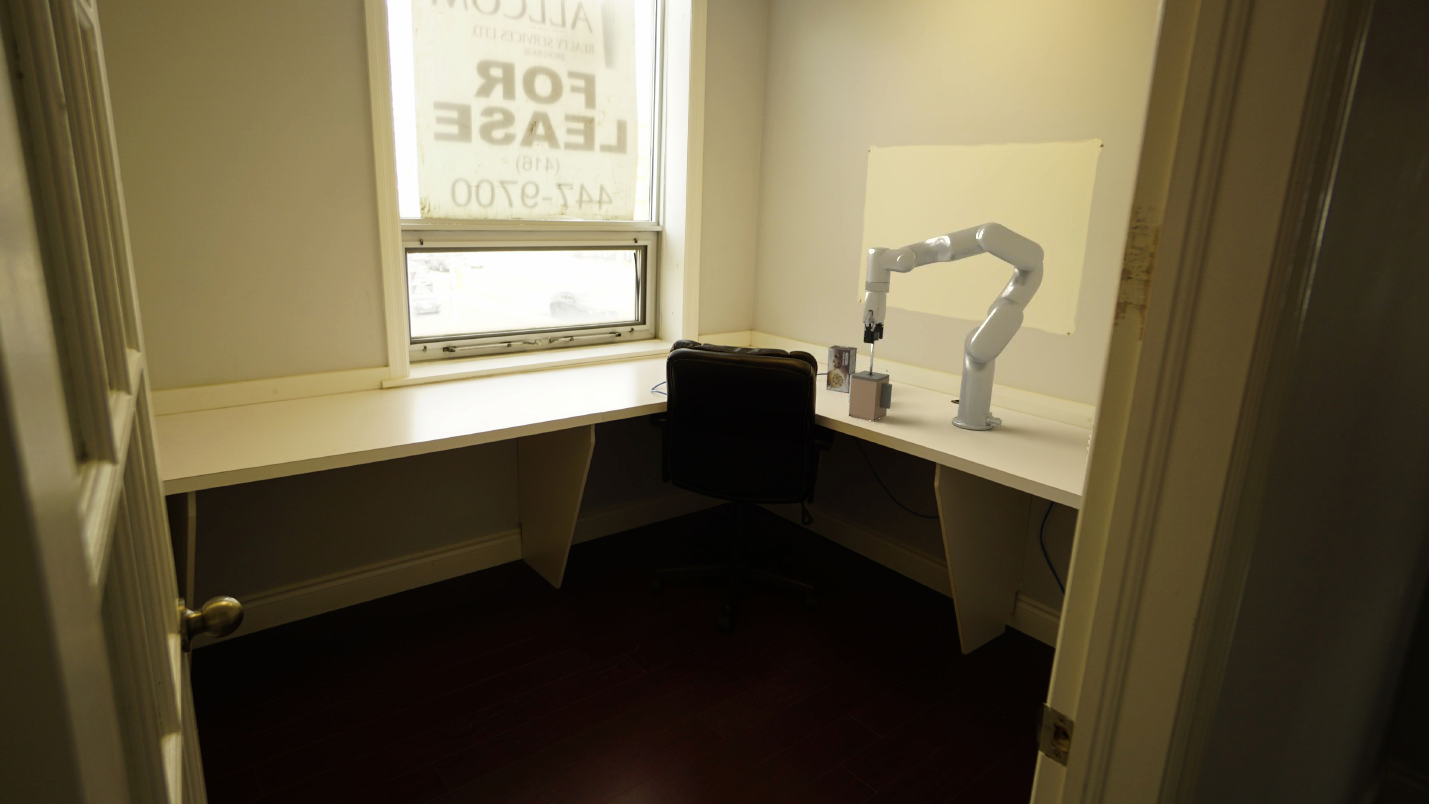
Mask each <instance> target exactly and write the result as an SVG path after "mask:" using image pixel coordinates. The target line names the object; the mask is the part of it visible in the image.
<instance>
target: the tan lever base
mask: <svg viewBox="0 0 1429 804" xmlns="http://www.w3.org/2000/svg"><path fill="white" fill-rule="evenodd" d="M869 371H870V370H863V371H860V372H859V371H858V372H855V373H856V374H853V375H852V376H851V391H850V403H849V406H848V407H849V409H848V417H849V416H851V417H850V418H854V417H855V419H859V418H861V419H860V420H865V421H868V420H871V421H870V422H873V421H874V422H876V421H879V420H880V419H883V418H885V417H887V410H890V409H891V406H892V405H891V403H892V402H891V401H892V391H893V384H892V383H890V374H886V373H882V372H876V371H872V376H870V375H869ZM882 417H883V418H882ZM879 418H880V419H879ZM875 420H876V421H875Z"/></svg>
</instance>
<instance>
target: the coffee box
mask: <svg viewBox="0 0 1429 804" xmlns="http://www.w3.org/2000/svg"><path fill="white" fill-rule="evenodd" d="M857 351H858V348H857V347H853V346H845V345H836V344H835V345H832V346H830V347H828V348H827V370H826V371H827V373H826V388H825V389H826V390H828V391H835V392H841V393H848V394H849V388H850V375H851V374H852V373H856V367H857V364H856V363H857V353H858V352H857Z"/></svg>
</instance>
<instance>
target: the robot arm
mask: <svg viewBox="0 0 1429 804" xmlns="http://www.w3.org/2000/svg"><path fill="white" fill-rule="evenodd" d="M986 253H989V254H990V255H992V256H994V257H996V258H998V259H1000V260H1001V261H1003V262H1005V263H1008V264H1010V265H1012V266H1013V273H1012V275H1011V278H1010V279H1009V280H1008V282H1007V283H1006V285H1005V286H1004V288H1003V289H1002V291H1001V292H1000V293H998V296H997V297H996V298H995V300H994V301H992V303H991V304H990V306H989V307H988V309H987V317H986V318H985V320H984V321H983V322H982V324H981V325H980V326H976V327H974V328H972V329H971V330H970V331H969V332H968V333H967V334H966V336H965V339H964V344H963V345H964V348H963V362H962V363H963V364H962V373H961V382H960V392H959V401H958V409H957V416H955V417H953V418H952V419H951V423H952V424H953V426H956V427H958V428H961V429H967V430H974V431H983V430H984V431H985V430H990V429H992V428H993V427H994V425H995V426H1002V423H1003V419H1001V417H995V416H993V411H991V401H992V394H993V385H994V379H995V370H996V369H995V368H996V359H997V358H998V357H999V356H1000V354H1001V353H1002V352H1003V351H1004V350H1005V348H1006V347H1007V346H1008V345H1009V343H1010V342H1011V340H1013V338H1014V336H1016V334H1017V332H1018V331H1019V329H1020V328H1021V326H1022V324H1023V322H1024V316H1025V315H1024V310H1026V308H1027V306H1028V305H1029V303H1030V302H1031V300H1032V298H1033V297H1034V296H1035V295H1036V293H1037V292H1038V290H1039V288H1040V286H1041V284H1042V282H1043V277H1044V262H1043V261H1044V259H1045V251H1044V249H1043V247H1042V246H1041V245H1040V244H1039V243H1037V242H1036V241H1034V240H1031V239H1029V238H1027V237H1026V236H1024V235H1022V234H1019V233H1017V232H1015V231H1013V230H1012V229H1010V228H1008V227H1006V226H1004V225H1003V224H1000V223H998V222H991V221H990V222H986V223H982V224H979V225H975V226H971V227H968V228H967V227H966V228H964V229H961V230H957V231H953V232H949V233H946V234H942V235H939V236H937V237H933V238H930V239H926V240H923V241H919V242H915V243H912V244H907V245H903V246H901V247H899V248H895V249H891V248H889V247H883V246H882V247H880V246H879V247H878V246H877V247H869V249H868V250H867V254H866V255H867V257H866V268H865V269H866V270H865V271H866V273H865V284H864V292H865V296H864V302H863V311H862V320H861V321H862V323H863V324H864V328H863V331H864V332H863V343H865V344H873V343H874V344H875V342H874V333H875V332H879V340H882V339H883V338H884V326H885V322H884V321H885V319H886V314H887V313H886V311H887V294H888V293H890V283H891V282H890V281H891V272H895V273H901V274H906V273H910V272H911V271H913V270H914V269H915V268H918V267H923V266H925V265H930V264H936V263H948V262H949V263H951V262H956V261H960V260H964V259H966V258H971V257H973V256H977V255H982V254H986Z"/></svg>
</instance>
